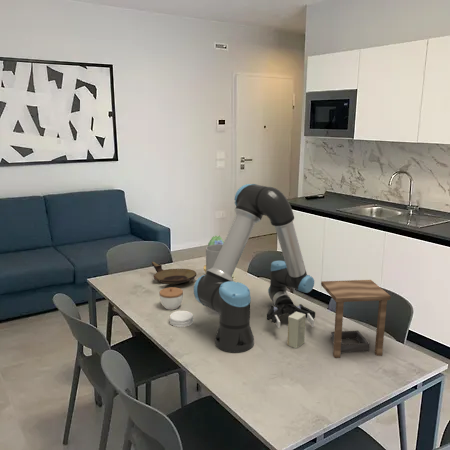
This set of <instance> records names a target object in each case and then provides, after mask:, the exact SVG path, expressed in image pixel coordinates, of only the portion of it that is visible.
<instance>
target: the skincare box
mask: <svg viewBox="0 0 450 450" xmlns="http://www.w3.org/2000/svg"><path fill="white" fill-rule="evenodd" d="M306 321H307V318H306V314H303V313H300V312H297V311H296V312H295V313H293V314H289V315H288V318H287V340H286V342H287V343H286V345H287V346H289V347H291V348H293V349H298V348H299V347H301V346H302V345H303V344H304V343H305V339H306V338H305V337H306Z"/></svg>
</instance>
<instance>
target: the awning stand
mask: <svg viewBox="0 0 450 450" xmlns="http://www.w3.org/2000/svg"><path fill="white" fill-rule="evenodd" d="M320 285H321V288H323V289H324V290H325V291H326V292H327V294H328V295H329V296H330V298H331V299H333V300H334V302H335V315H334V317H335V318H334V319H335V320H334V331H330V332H331V334H330V340H331V341H332V344H333V347H332V348H333V350H332V351H333V352H332V356H333V358H334V359H339V358H341V354H342V353H359V352H360V353H361V352H370V343H369V341H368V340H367V339H366V338H365V337H364V335H363V334H362V333H361V332H360V331H359V330H344V331H343V320H344V319H343V317H344V307H345V305H344V304H345V303H350V302H351V303H352V302H376V301H378V310H377V319H376V320H377V322H376V333H375V334H376V335H375V342H374V343H375V344H374V354H375V355H376V356H378V357H379V356H383V352H384V339H385V326H386V317H387V305H388V301H391V297H392V296H391V295H390V294H389V293H388V292H386V290H384V288H382V287H380V286H379V285H378V284H377V283H376V282H374V281H373V280H372V279H354V280H350V279H349V280H326V281H321V282H320ZM342 340H356V341H357V342H358V343H357V342H355V343H354V342H353V343H343V342H342Z"/></svg>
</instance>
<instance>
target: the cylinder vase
mask: <svg viewBox="0 0 450 450" xmlns="http://www.w3.org/2000/svg"><path fill="white" fill-rule="evenodd" d="M222 246H223V245H222V244H216V245H210V246H208V245H207V246H205V265H206V272H207V270H208V269H211V268H213V266H214V263H215V261H216V259H217V257H218V255H219V252H220V250H221V248H222ZM206 272H205V273H206Z"/></svg>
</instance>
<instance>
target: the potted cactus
mask: <svg viewBox="0 0 450 450" xmlns="http://www.w3.org/2000/svg"><path fill="white" fill-rule="evenodd" d="M224 241H225V240H224V239H223V238H222V237H221V236H220V235H214V236H212V237H211V238H210V240H209V242H208V245H207V246H210V245H216V244H222V245H223V243H224ZM203 271H204V272H205V273H206V264H205V265H203Z"/></svg>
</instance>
